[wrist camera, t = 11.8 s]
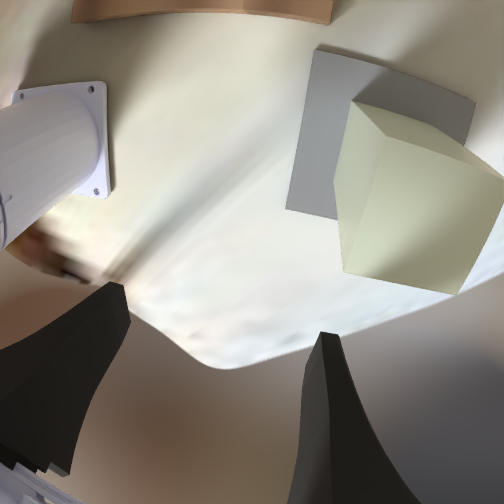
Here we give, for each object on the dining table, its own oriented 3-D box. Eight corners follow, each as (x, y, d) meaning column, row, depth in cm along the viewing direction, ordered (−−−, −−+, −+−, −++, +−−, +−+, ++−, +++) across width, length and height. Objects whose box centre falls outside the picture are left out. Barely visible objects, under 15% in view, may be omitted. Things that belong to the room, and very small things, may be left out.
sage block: (333, 180, 16) (343, 272, 10) (351, 100, 14) (385, 136, 7) (408, 199, 16) (456, 295, 9) (431, 125, 13) (511, 183, 7)
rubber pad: (285, 205, 18) (285, 208, 18) (314, 49, 13) (314, 49, 13) (425, 238, 17) (427, 242, 17) (472, 101, 12) (475, 102, 12)
